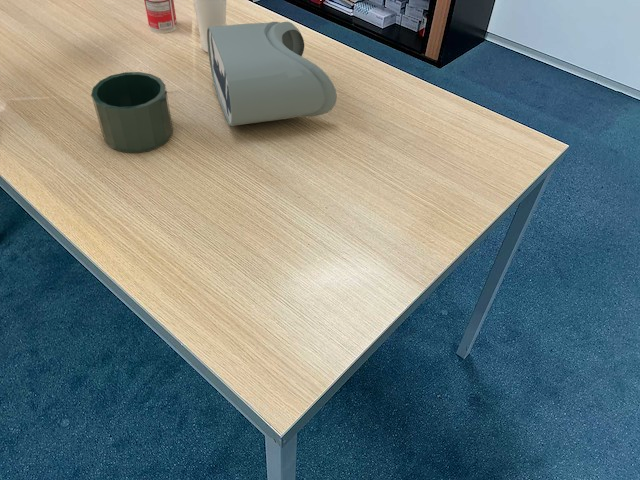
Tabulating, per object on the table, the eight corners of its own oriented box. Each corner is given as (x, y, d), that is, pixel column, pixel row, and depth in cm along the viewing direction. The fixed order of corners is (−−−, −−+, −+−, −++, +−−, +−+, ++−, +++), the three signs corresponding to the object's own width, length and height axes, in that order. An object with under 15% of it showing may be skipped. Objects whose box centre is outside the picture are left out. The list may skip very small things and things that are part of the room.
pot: (100, 155, 91) (87, 111, 85) (107, 116, 99) (96, 73, 92) (171, 151, 92) (164, 107, 86) (173, 112, 100) (166, 70, 94)
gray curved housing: (210, 78, 109) (204, 15, 100) (301, 68, 114) (303, 7, 105) (233, 142, 95) (228, 75, 86) (336, 127, 100) (341, 62, 90)
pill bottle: (161, 21, 126) (153, -30, 118) (183, 27, 124) (176, -23, 116) (143, 31, 122) (134, -20, 114) (166, 38, 120) (157, -14, 112)
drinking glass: (213, 38, 121) (206, -33, 110) (236, 48, 119) (232, -24, 108) (191, 49, 117) (182, -23, 106) (215, 59, 115) (208, -14, 104)
